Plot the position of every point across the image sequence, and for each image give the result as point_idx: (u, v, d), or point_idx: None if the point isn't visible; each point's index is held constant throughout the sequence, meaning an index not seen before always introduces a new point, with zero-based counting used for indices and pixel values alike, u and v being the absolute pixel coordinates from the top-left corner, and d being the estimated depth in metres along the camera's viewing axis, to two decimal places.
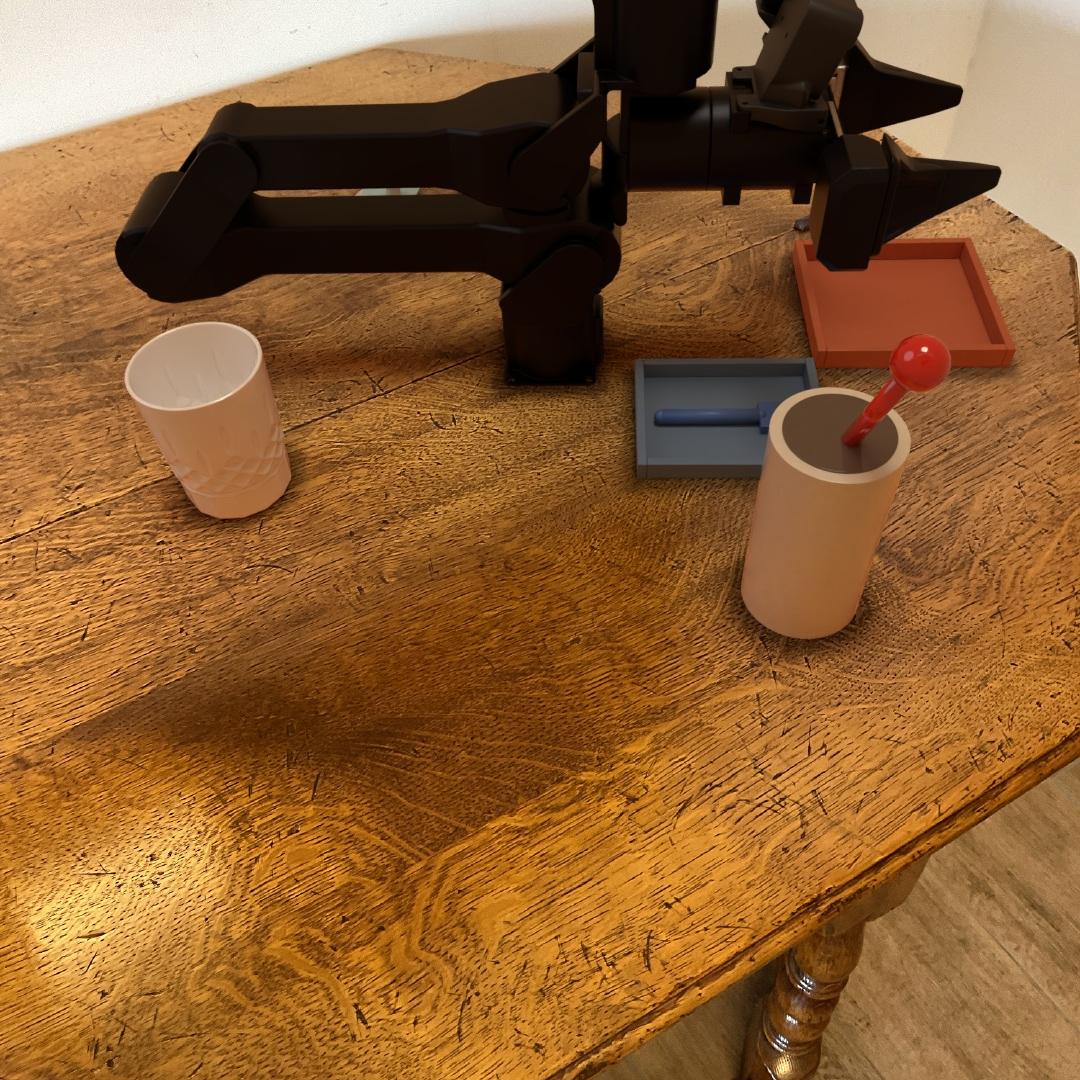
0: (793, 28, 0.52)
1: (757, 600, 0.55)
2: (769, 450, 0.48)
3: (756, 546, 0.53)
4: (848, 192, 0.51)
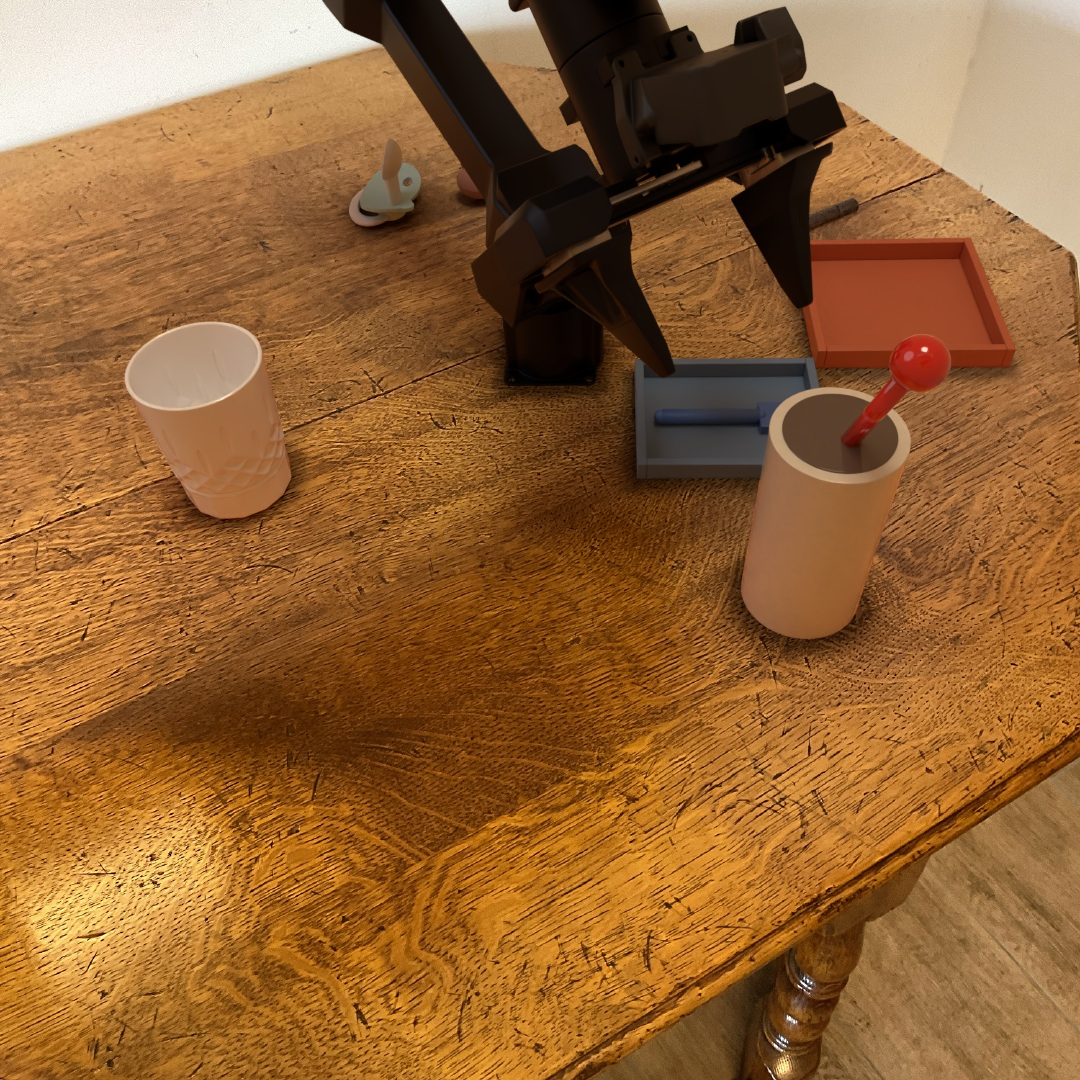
0: (689, 67, 0.43)
1: (757, 600, 0.55)
2: (769, 450, 0.48)
3: (756, 546, 0.53)
4: (524, 222, 0.45)
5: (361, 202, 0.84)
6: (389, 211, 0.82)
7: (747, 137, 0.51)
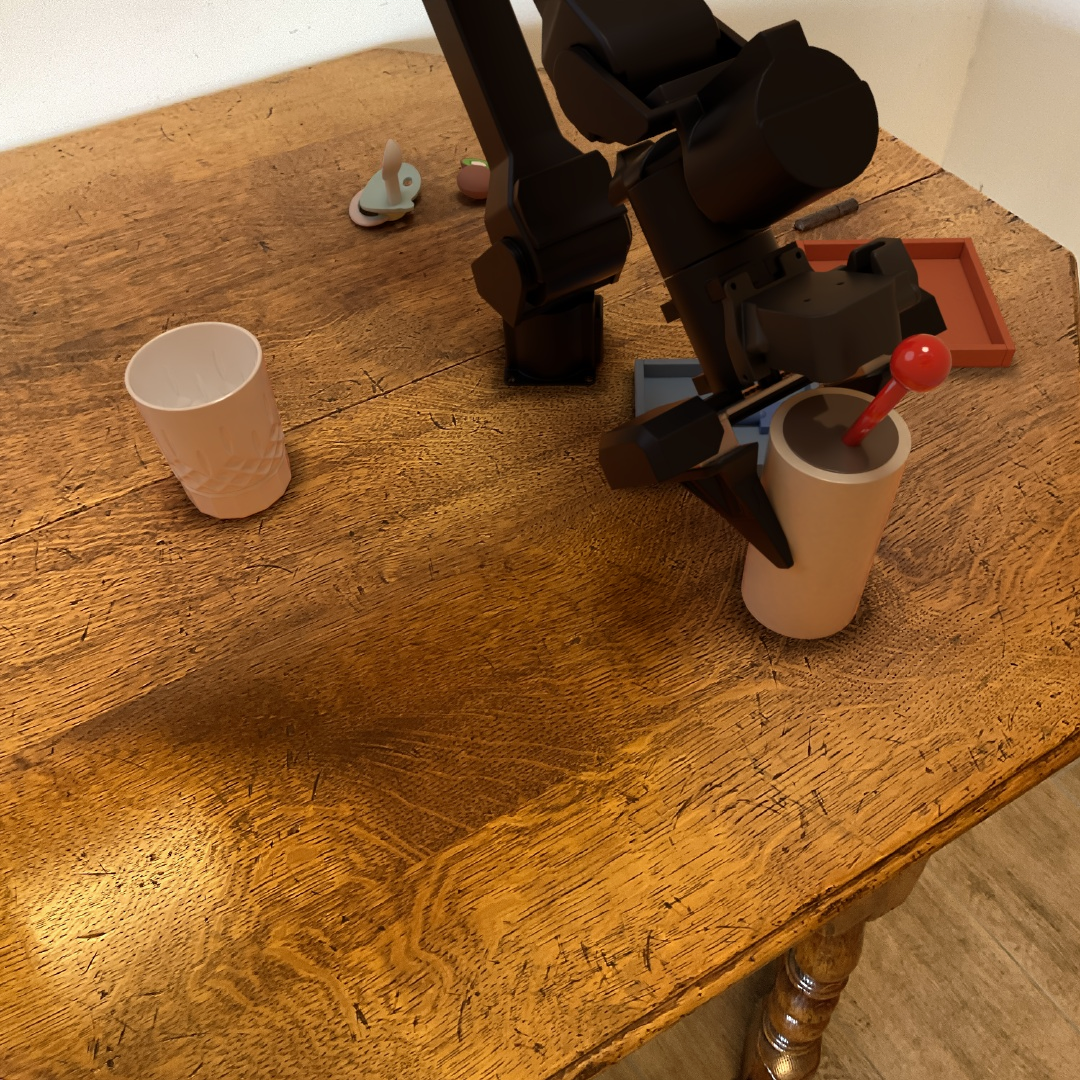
0: (808, 306, 0.43)
1: (758, 600, 0.55)
2: (769, 450, 0.48)
3: None
4: (637, 447, 0.45)
5: (361, 202, 0.84)
6: (389, 211, 0.82)
7: None
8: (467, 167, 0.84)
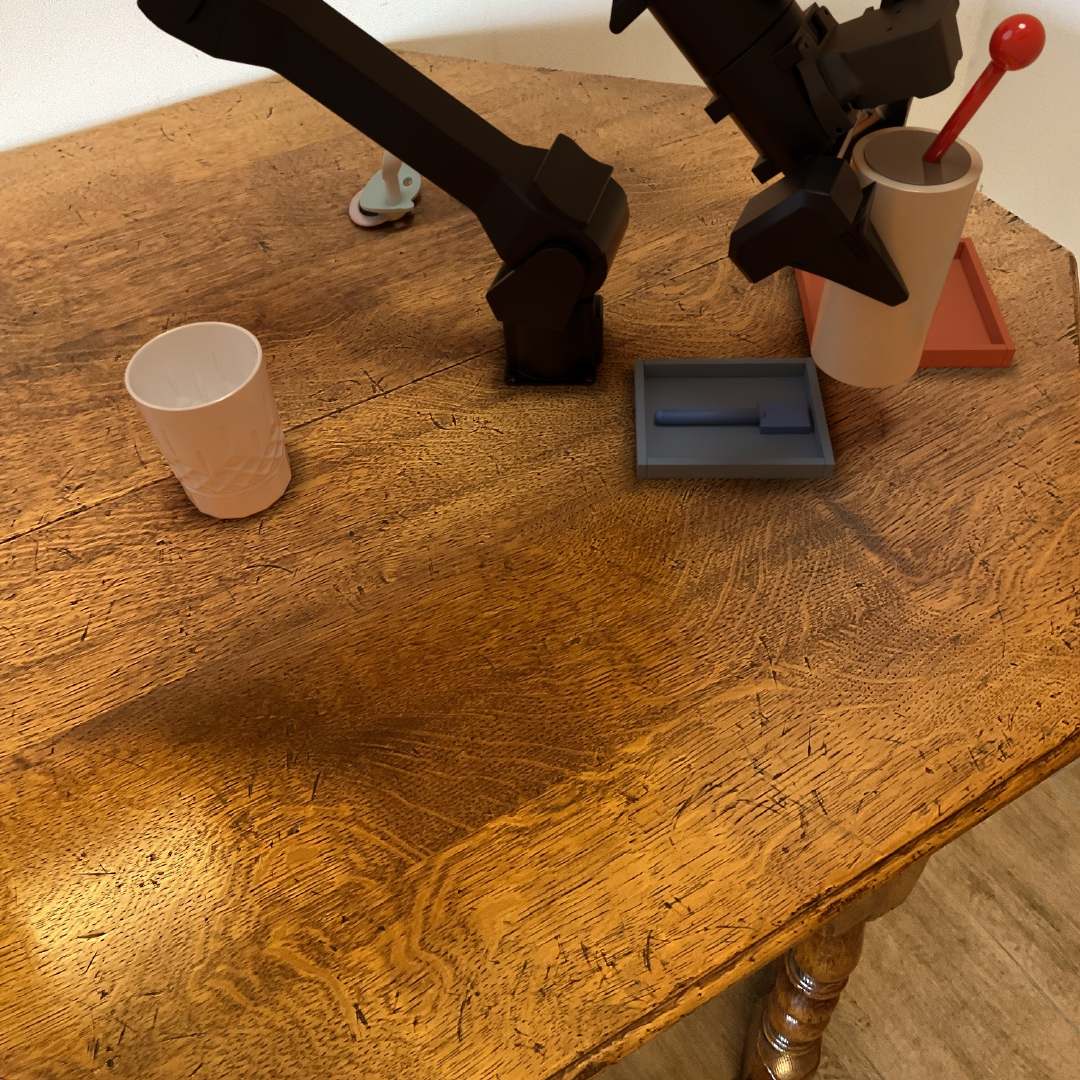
0: (901, 30, 0.47)
1: (858, 359, 0.59)
2: None
3: (855, 302, 0.56)
4: (807, 210, 0.47)
5: (361, 202, 0.84)
6: (389, 211, 0.82)
7: None
8: None
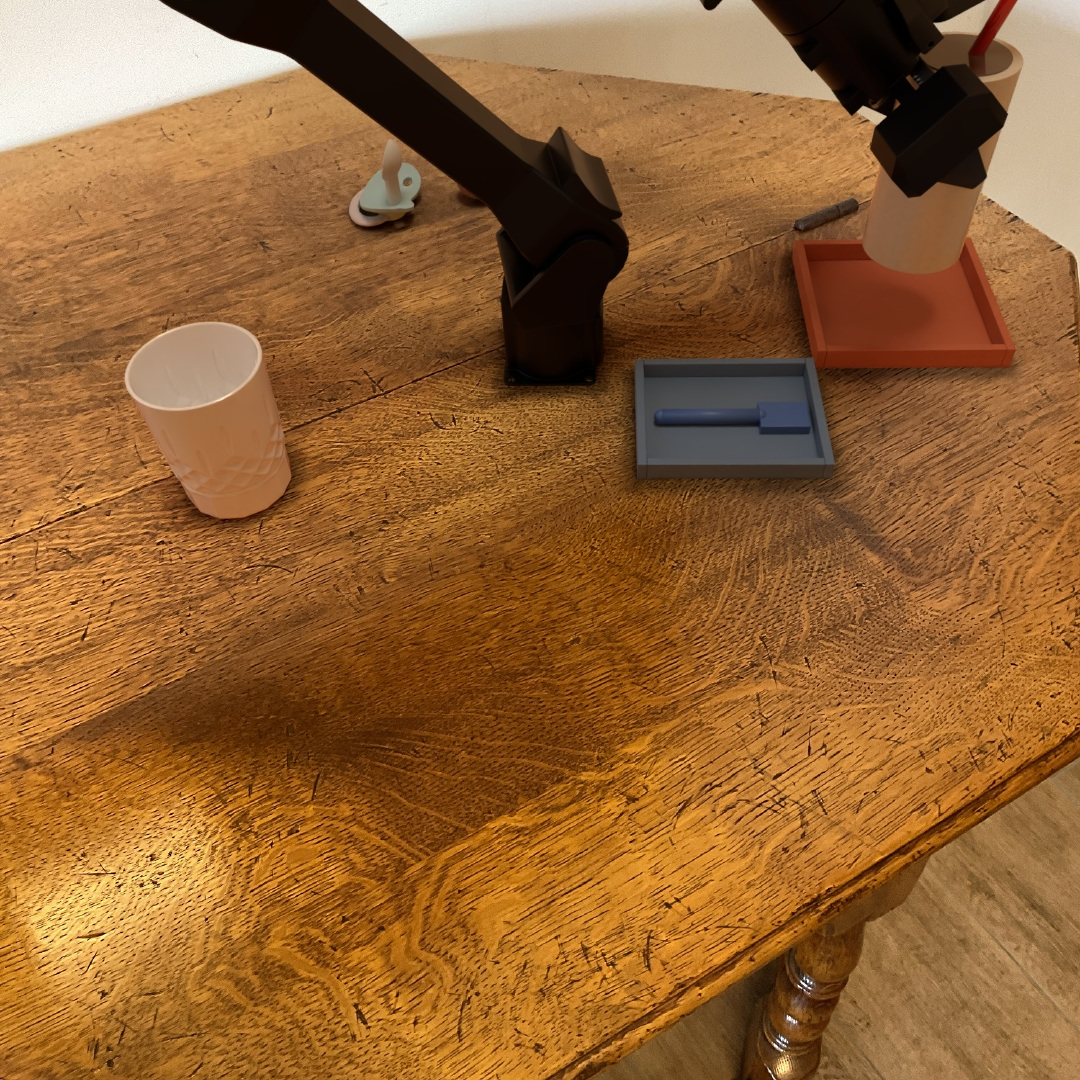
0: None
1: (936, 247, 0.65)
2: None
3: (935, 197, 0.63)
4: (978, 112, 0.52)
5: (361, 202, 0.84)
6: (389, 211, 0.82)
7: None
8: None
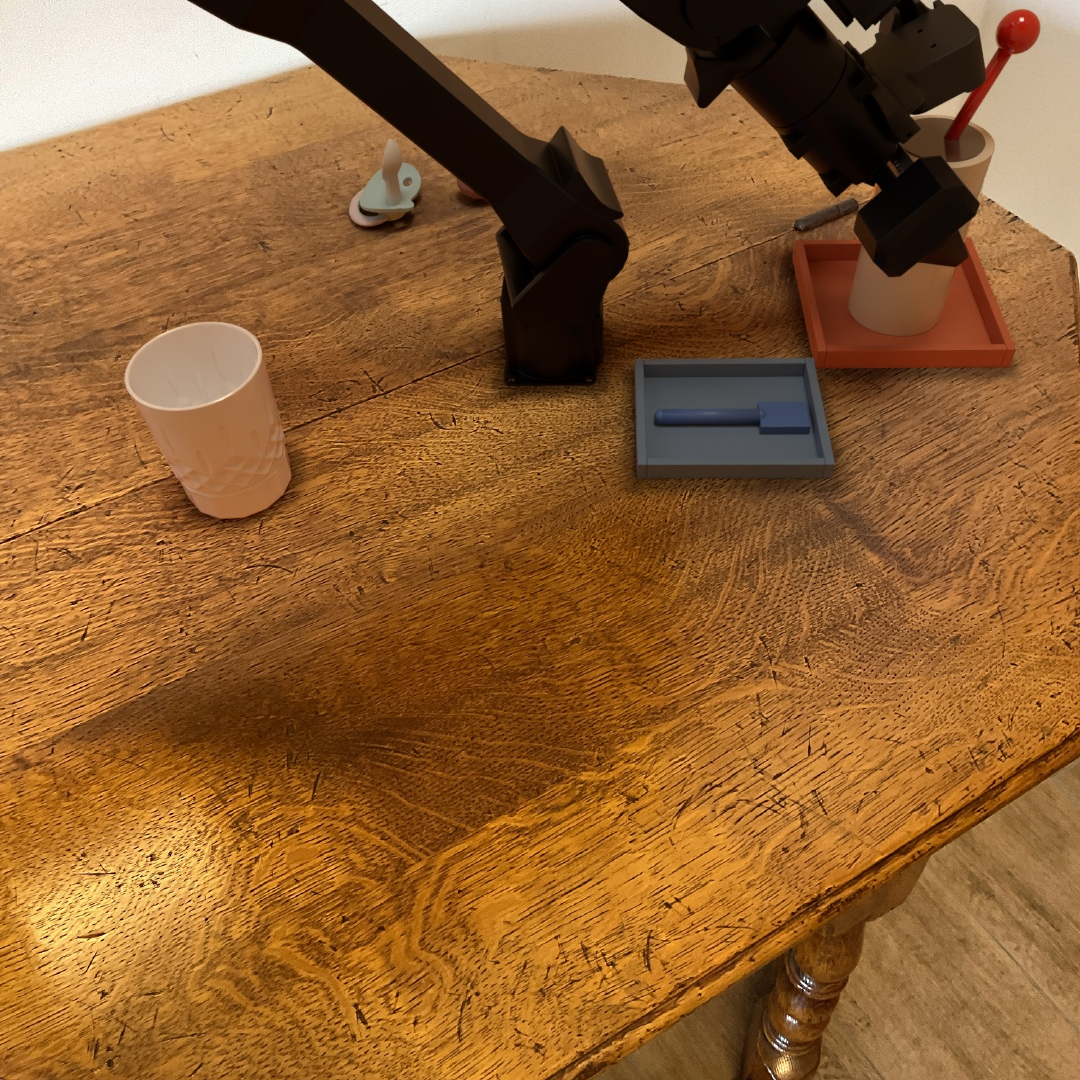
0: (947, 44, 0.57)
1: (917, 312, 0.69)
2: None
3: (915, 268, 0.67)
4: (952, 203, 0.56)
5: (361, 202, 0.84)
6: (389, 211, 0.82)
7: None
8: None
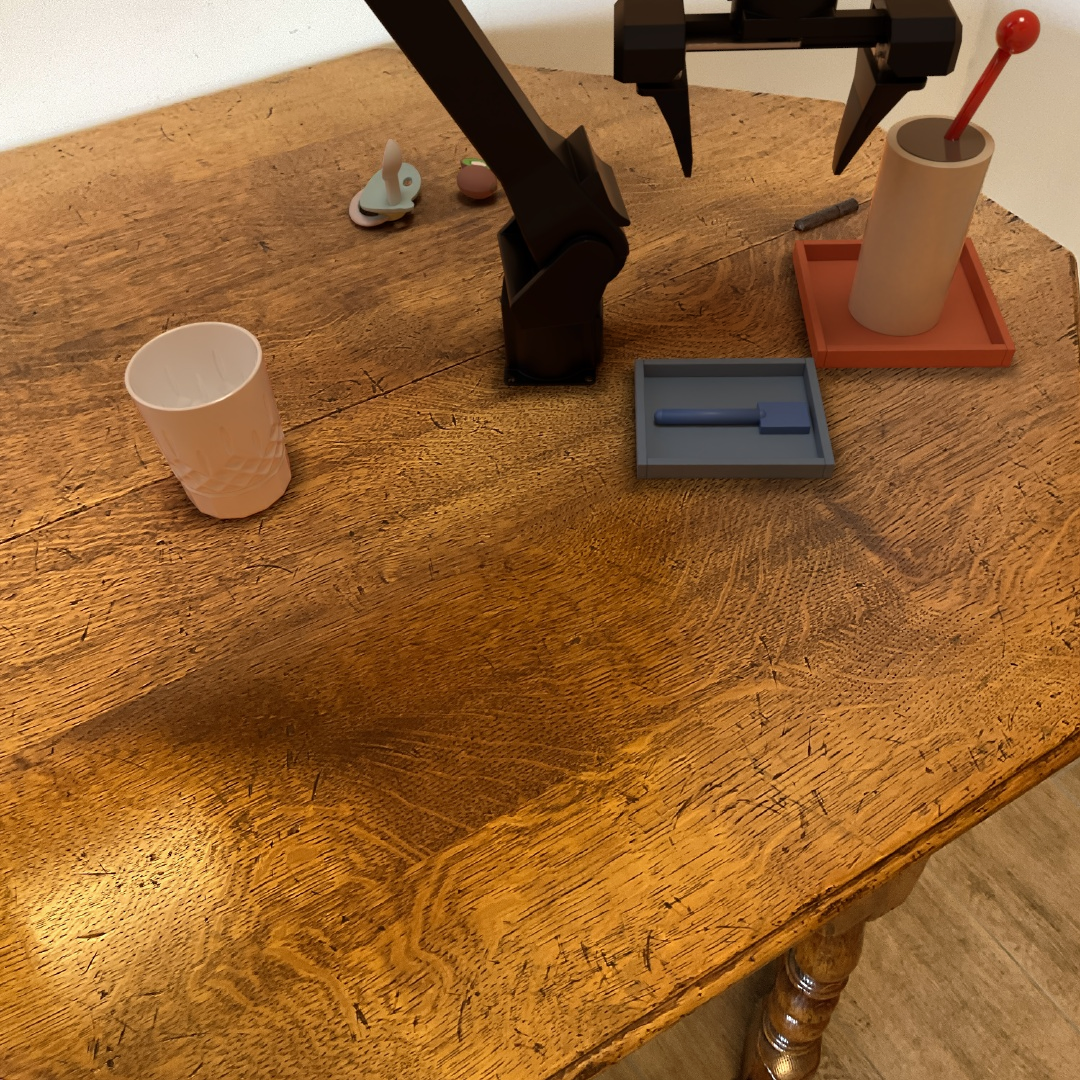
0: None
1: (917, 312, 0.69)
2: (932, 177, 0.62)
3: (915, 268, 0.67)
4: None
5: (361, 202, 0.84)
6: (389, 211, 0.82)
7: None
8: (467, 167, 0.84)
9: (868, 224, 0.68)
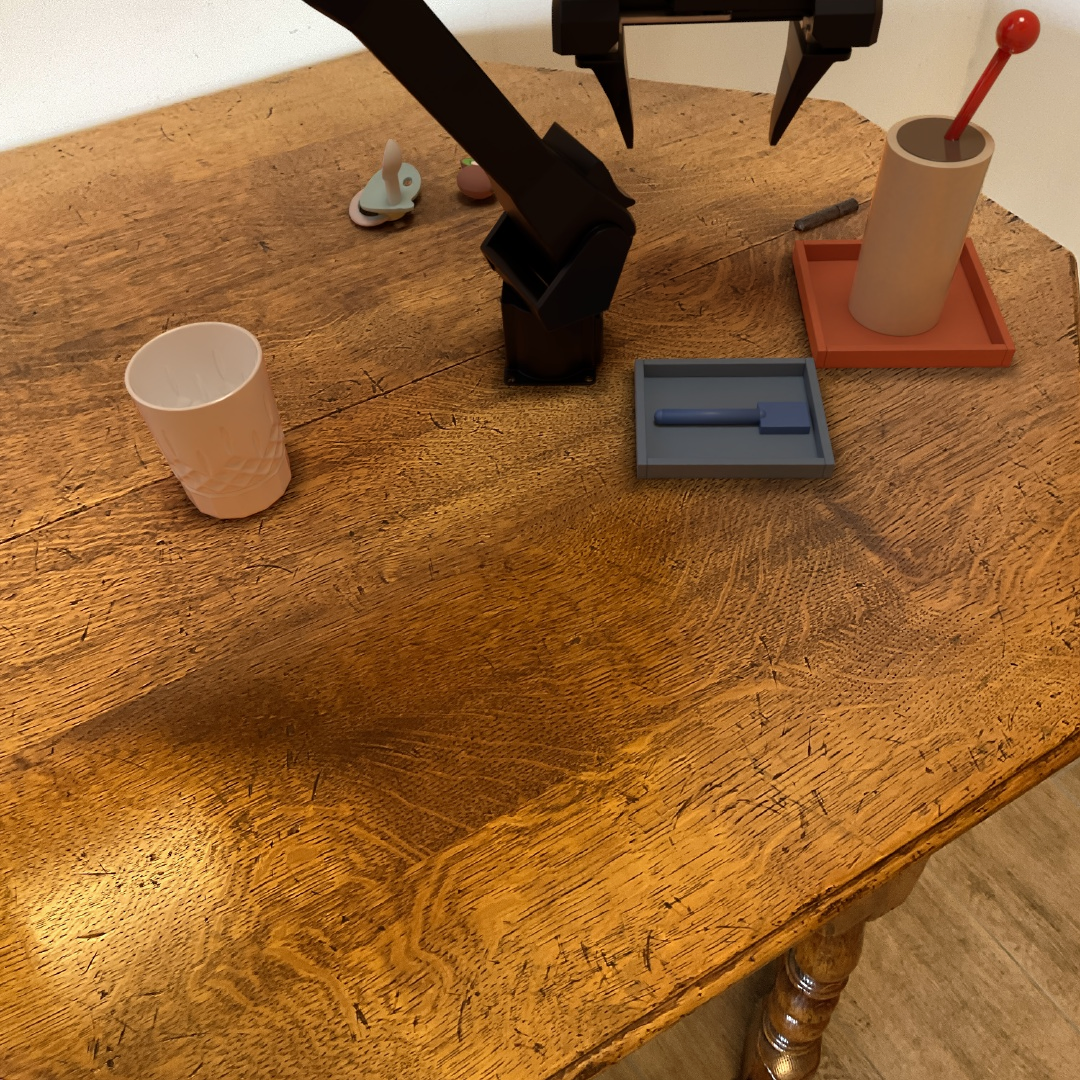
0: None
1: (917, 312, 0.69)
2: (932, 177, 0.62)
3: (915, 268, 0.67)
4: None
5: (361, 202, 0.84)
6: (389, 211, 0.82)
7: None
8: (467, 167, 0.84)
9: (868, 224, 0.68)
